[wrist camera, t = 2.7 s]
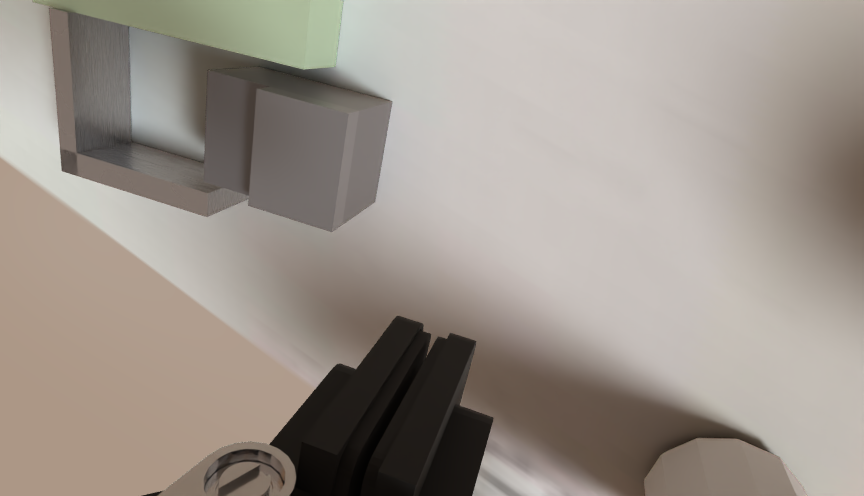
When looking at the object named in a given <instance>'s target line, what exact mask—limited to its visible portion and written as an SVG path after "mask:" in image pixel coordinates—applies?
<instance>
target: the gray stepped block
mask: <svg viewBox="0 0 864 496" xmlns="http://www.w3.org/2000/svg"><path fill="white" fill-rule="evenodd" d="M391 107H392V101H388V100H384V99H380V98H377V97H373V96H369V95H365V94H361V93H358V92H354V91H350V90H346V89H342V88H339V87H335V86H331V85H327V84H323V83H319V82H316V81H312V80H308V79H304V78H300V77H297V76H293V75H289V74H285V73H281V72H278V71H274V70H270V69H266V68H262V67H246V68H230V69H215V70H208V74H207V101H206V128H205V155H204V182H206V183H210V184H213V185H216V186H219V187H222V188H226V189H229V190H232V191H235V192H238V193H242V194H245V195H248V196H249V201H248V206H251V207H254V208H257V209H261V210H264V211H267V212H270V213H273V214H276V215H280V216H283V217H286V218H289V219H292V220H295V221H299V222H302V223H305V224H308V225H311V226H314V227H318V228H321V229H324V230H327V231H330V232H333V231H334V230H336V229H337V228H338V227H340V226H341V225H343V224H344V223H346V222H347V221H348V220H350V219H351V218H353V217H354V216H356V215H357V214H359V213H360V212H361V211H363V210H364V209H366V208H367V207H369V206H370V205H371V204H373V203H374V202H375V199H376V193H377V188H378V182H379V176H380V170H381V165H382V159H383V153H384V147H385V141H386V136H387V130H388V124H389V118H390V112H391Z"/></svg>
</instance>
